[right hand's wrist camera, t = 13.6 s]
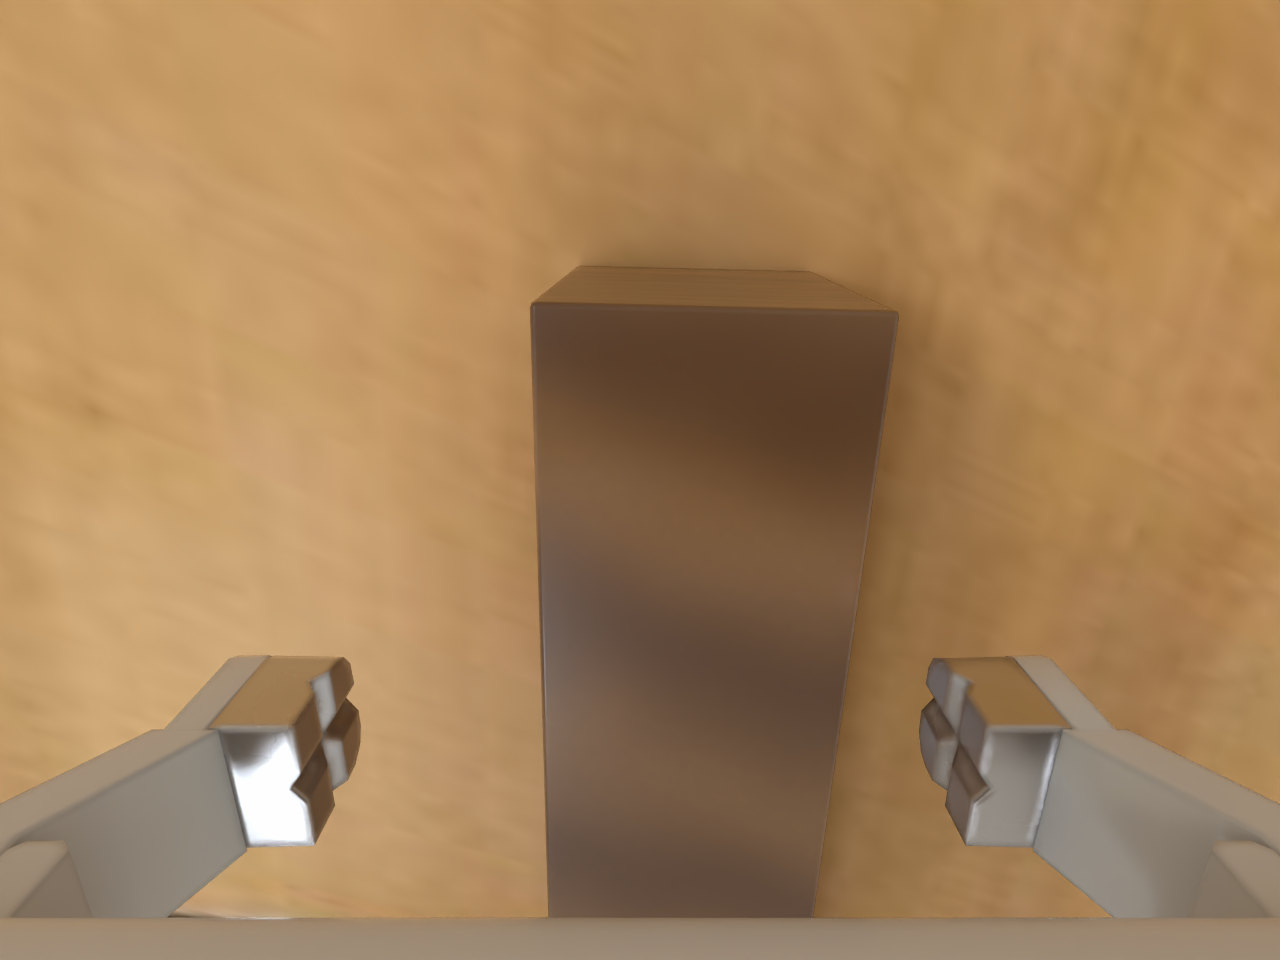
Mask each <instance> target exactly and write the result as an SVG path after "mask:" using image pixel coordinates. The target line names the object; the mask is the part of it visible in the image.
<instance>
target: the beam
mask: <svg viewBox="0 0 1280 960" xmlns="http://www.w3.org/2000/svg"><path fill="white" fill-rule="evenodd" d="M898 319H899V315H898V312H896V311H894V310H892V309H890V308H887V307H885V306H883V305H881V304H879V303H877V302H874V301H872V300H870V299H868V298H866V297H864V296H861V295H859V294H857V293H855V292H853V291H851V290H848V289H846V288H844V287H842V286H840V285H838V284H835V283H833V282H831V281H829V280H827V279H825V278H822V277H820V276H818V275H816V274H814V273H812V272H802V271H761V270H720V269H679V268H638V267H597V266H579V267H577V268H575V269H574V270H573V271H572V272H570V273H569V274H568V275H567V276H565V277H564V278H563V279H561V280H560V281H559V282H558V283H556V284H555V285H554V286H553V287H551V288H550V289H549V290H548V291H546V292H545V293H544V294H543V295H541V296H540V297H539V298H537V299H536V300H535V301H534V302H532V304H531V306H530V323H531V356H532V389H533V422H534V455H535V488H536V521H537V554H538V587H539V620H540V653H541V686H542V719H543V752H544V785H545V818H546V851H547V884H548V917H549V918H813V914H814V907H815V900H816V893H817V886H818V879H819V872H820V865H821V858H822V851H823V844H824V837H825V830H826V823H827V816H828V809H829V802H830V795H831V788H832V781H833V774H834V767H835V760H836V753H837V746H838V739H839V732H840V725H841V718H842V711H843V704H844V697H845V690H846V683H847V676H848V669H849V662H850V655H851V648H852V641H853V634H854V627H855V620H856V613H857V606H858V599H859V592H860V585H861V578H862V571H863V564H864V557H865V550H866V543H867V536H868V529H869V522H870V515H871V508H872V501H873V494H874V487H875V480H876V473H877V466H878V459H879V452H880V445H881V438H882V431H883V424H884V417H885V410H886V403H887V396H888V389H889V382H890V375H891V368H892V361H893V354H894V347H895V340H896V333H897V326H898Z"/></svg>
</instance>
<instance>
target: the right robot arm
mask: <svg viewBox="0 0 1280 960" xmlns="http://www.w3.org/2000/svg"><path fill="white" fill-rule="evenodd" d="M353 685H354V681H353V676H352V671H351V666H350V663H349V662H348V661H347V660H346V659H345V658H344V657H311V656H273V657H272V656H269V655H265V656H236V657H233V658H229V659H228V660H227V662H226V663H225V664H224V665H223V666H222V667H221V668H220V669H219V670H218V671H217V672H216V674H215V675H214V676H213V677H212V678H211V679H210V680H209V681H208V682H207V683H206V684H205V686H204V687H203V688H202V689H201V690H200V691H199V692H198V693H197V694H196V695H195V696H194V698H193V699H192V700H191V701H190V702H189V703H188V704H187V705H186V706H185V707H184V708H183V710H182V711H181V712H180V713H179V714H178V715H177V716H176V717H175V718H174V719H173V720H172V722H171V723H170V724H169V725H168V726H167V727H166V728H165V729H164V730H151V731H148V732H146V733H144V734H142V735H140V736H138V737H136V738H134V739H132V740H130V741H128V742H126V743H124V744H122V745H120V746H118V747H116V748H114V749H112V750H110V751H108V752H105V753H103V754H101V755H99V756H97V757H95V758H93V759H91V760H89V761H87V762H85V763H83V764H81V765H79V766H77V767H75V768H73V769H71V770H69V771H67V772H65V773H63V774H60V775H58V776H56V777H54V778H52V779H50V780H48V781H46V782H44V783H42V784H40V785H38V786H36V787H34V788H32V789H30V790H28V791H26V792H24V793H22V794H20V795H17V796H15V797H13V798H11V799H9V800H7V801H5V802H3V803H1V804H0V960H1280V804H1278V803H1276V802H1274V801H1272V800H1270V799H1268V798H1266V797H1264V796H1262V795H1260V794H1258V793H1256V792H1254V791H1252V790H1250V789H1248V788H1246V787H1244V786H1242V785H1240V784H1238V783H1236V782H1234V781H1232V780H1229V779H1227V778H1225V777H1223V776H1221V775H1219V774H1217V773H1215V772H1213V771H1211V770H1209V769H1207V768H1205V767H1203V766H1201V765H1199V764H1197V763H1195V762H1193V761H1191V760H1189V759H1187V758H1185V757H1183V756H1180V755H1178V754H1176V753H1174V752H1172V751H1170V750H1168V749H1166V748H1164V747H1162V746H1160V745H1158V744H1156V743H1154V742H1152V741H1150V740H1148V739H1146V738H1144V737H1142V736H1140V735H1138V734H1136V733H1134V732H1132V731H1129V730H1116V729H1115V728H1114V727H1113V726H1112V725H1111V724H1110V723H1109V722H1108V720H1107V719H1106V718H1105V717H1104V716H1103V715H1102V714H1101V713H1100V712H1099V711H1098V710H1097V708H1096V707H1095V706H1094V705H1093V704H1092V703H1091V702H1090V701H1089V700H1088V699H1087V698H1086V696H1085V695H1084V694H1083V693H1082V692H1081V691H1080V690H1079V689H1078V688H1077V687H1076V686H1075V684H1074V683H1073V682H1072V681H1071V680H1070V679H1069V678H1068V677H1067V676H1066V675H1065V673H1064V672H1063V671H1062V670H1061V669H1060V668H1059V667H1058V666H1057V665H1056V664H1055V663H1054V661H1053V660H1052V659H1050V658H1048V657H1045V656H1043V655H1029V656H1006V657H974V658H933V660H932V662H931V664H930V666H929V669H928V675H927V680H926V685H927V686H928V688H929V690H930V691H931V693H932V695H933V697H934V698H933V699H932V700H931V701H930V702H929V703H928V704H927V705H926V706H925V707H924V708H923V710H922V711H921V719H920V728H919V735H920V746H921V753H922V756H923V760H924V763H925V766H926V768H927V770H928V772H929V774H930V777H931V779H932V780H933V781H934V782H936V783H937V784H939V785H940V786H941V787H943V788H944V789H946V790H947V797H946V803H945V806H946V808H947V810H948V812H949V814H950V816H951V818H952V820H953V822H954V824H955V826H956V827H957V829H958V831H959V833H960V835H961V837H962V839H963V841H964V843H965V845H966V846H998V847H1034V848H1033V851H1034V852H1035V853H1036V854H1038V855H1039V856H1040V857H1041V858H1042V859H1044V860H1045V861H1046V862H1047V863H1048V864H1050V865H1051V866H1052V867H1053V868H1054V869H1056V870H1057V871H1058V872H1059V873H1061V874H1062V875H1063V876H1064V877H1065V878H1067V879H1068V880H1069V881H1070V882H1071V883H1073V884H1074V885H1075V886H1076V887H1077V888H1079V889H1080V890H1081V891H1082V892H1083V893H1085V894H1086V895H1087V896H1088V897H1089V898H1091V899H1092V900H1093V901H1094V902H1095V903H1097V904H1098V905H1099V906H1100V907H1101V908H1103V909H1104V910H1105V911H1106V912H1107V913H1109V914H1110V915H1111V916H1112V917H1114V918H167V917H168V916H169V915H170V914H171V913H173V912H174V911H175V910H176V909H178V908H179V907H180V906H181V905H182V904H184V903H185V902H186V901H187V900H188V899H190V898H191V897H192V896H193V895H194V894H196V893H197V892H198V891H199V890H200V889H202V888H203V887H204V886H205V885H206V884H208V883H209V882H210V881H211V880H213V879H214V878H215V877H216V876H217V875H219V874H220V873H221V872H222V871H223V870H225V869H226V868H227V867H228V866H229V865H231V864H232V863H233V862H234V861H235V860H237V859H238V858H239V857H240V856H242V855H243V854H244V853H245V852H246V851H247V849H246V847H281V846H314V845H315V843H316V841H317V839H318V837H319V835H320V833H321V831H322V829H323V828H324V826H325V824H326V822H327V820H328V818H329V816H330V814H331V812H332V810H333V808H334V806H335V803H334V797H333V792H332V791H333V790H334V789H336V788H337V787H339V786H340V785H341V784H343V783H344V782H346V781H347V780H348V779H349V776H350V774H351V772H352V770H353V768H354V766H355V764H356V760H357V755H358V751H359V746H360V730H361V725H360V718H359V711H358V710H357V709H356V707H355V706H354V705H353V704H352V703H351V702H350V701H349V700H348V699H347V698H346V697H347V695H348V693H349V691H350V690H351V688H352V686H353Z"/></svg>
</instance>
